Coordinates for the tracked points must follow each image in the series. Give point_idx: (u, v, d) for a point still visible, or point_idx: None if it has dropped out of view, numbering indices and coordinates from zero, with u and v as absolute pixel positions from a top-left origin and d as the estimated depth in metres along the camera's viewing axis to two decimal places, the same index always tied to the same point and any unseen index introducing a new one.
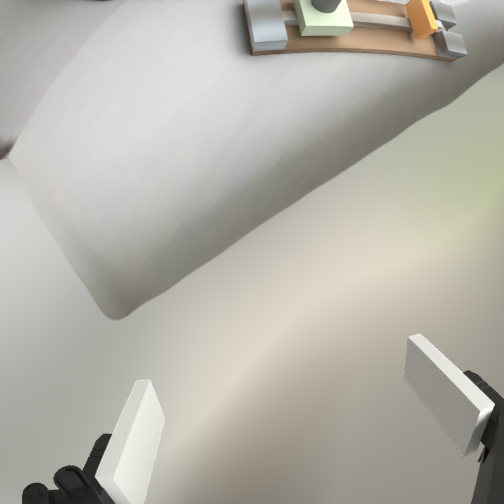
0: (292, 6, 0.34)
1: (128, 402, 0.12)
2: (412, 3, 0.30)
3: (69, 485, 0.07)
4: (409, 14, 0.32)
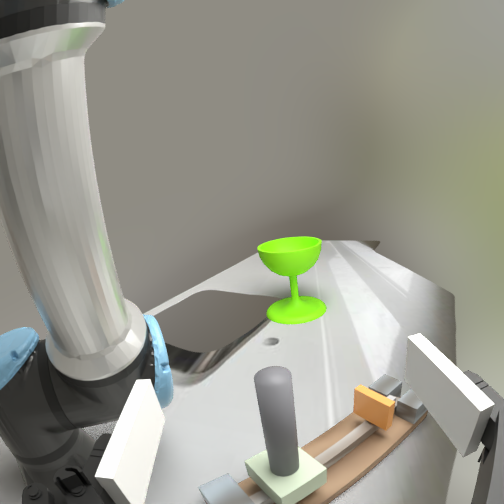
0: (257, 487, 0.31)
1: (128, 402, 0.12)
2: (357, 404, 0.38)
3: (69, 485, 0.07)
4: (363, 416, 0.38)
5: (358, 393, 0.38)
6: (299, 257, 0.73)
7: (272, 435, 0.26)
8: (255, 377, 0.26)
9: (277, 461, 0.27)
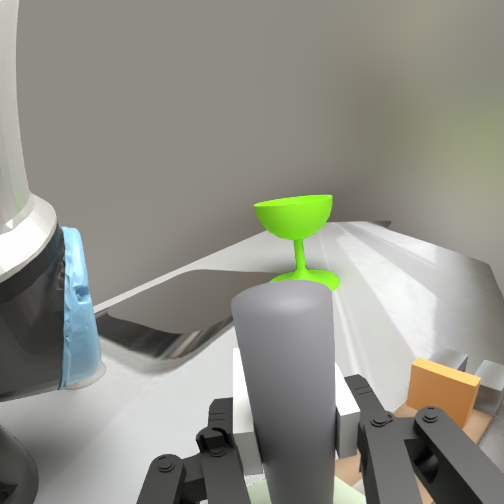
0: None
1: (235, 367, 0.15)
2: (415, 390, 0.22)
3: (210, 444, 0.09)
4: None
5: (419, 371, 0.22)
6: (306, 210, 0.57)
7: (281, 458, 0.10)
8: (235, 300, 0.10)
9: None
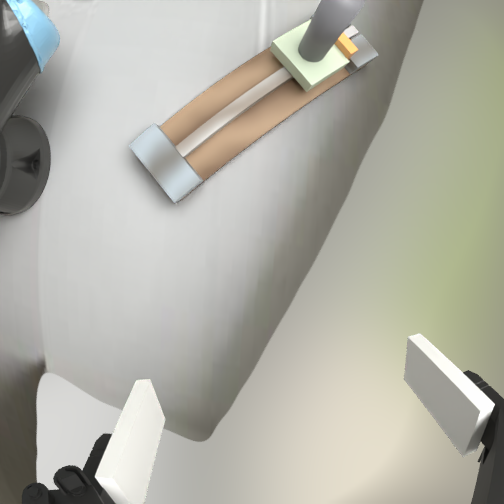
0: (184, 126, 0.37)
1: (128, 402, 0.12)
2: None
3: (69, 485, 0.07)
4: None
5: None
6: None
7: (322, 37, 0.25)
8: None
9: (314, 52, 0.29)
